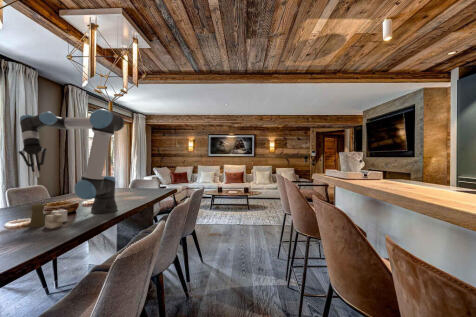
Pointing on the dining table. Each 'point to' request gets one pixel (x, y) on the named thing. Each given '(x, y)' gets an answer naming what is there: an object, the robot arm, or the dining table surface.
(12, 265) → the dining table surface
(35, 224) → the olive green tall block
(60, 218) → the birch block numbered 1
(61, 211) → the cream block numbered 7
